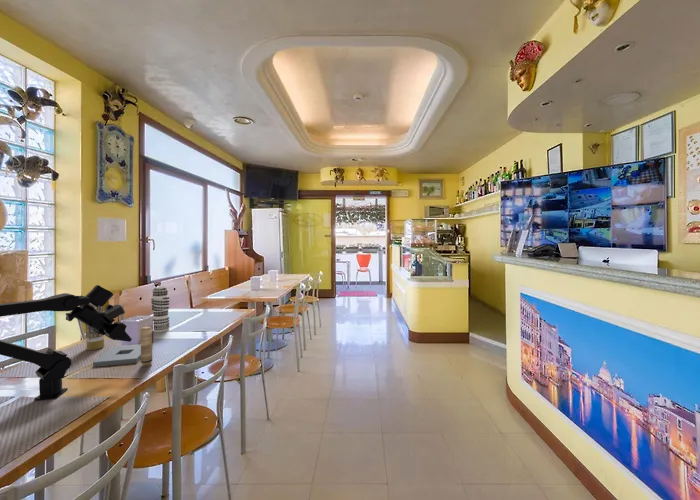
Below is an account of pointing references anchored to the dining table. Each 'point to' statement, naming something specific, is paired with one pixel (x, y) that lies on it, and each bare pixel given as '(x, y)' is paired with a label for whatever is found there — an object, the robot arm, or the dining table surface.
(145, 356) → the beech peg
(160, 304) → the decorative candle
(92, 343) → the grey patterned cylinder
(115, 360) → the grey peg hole board
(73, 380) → the dining table surface
